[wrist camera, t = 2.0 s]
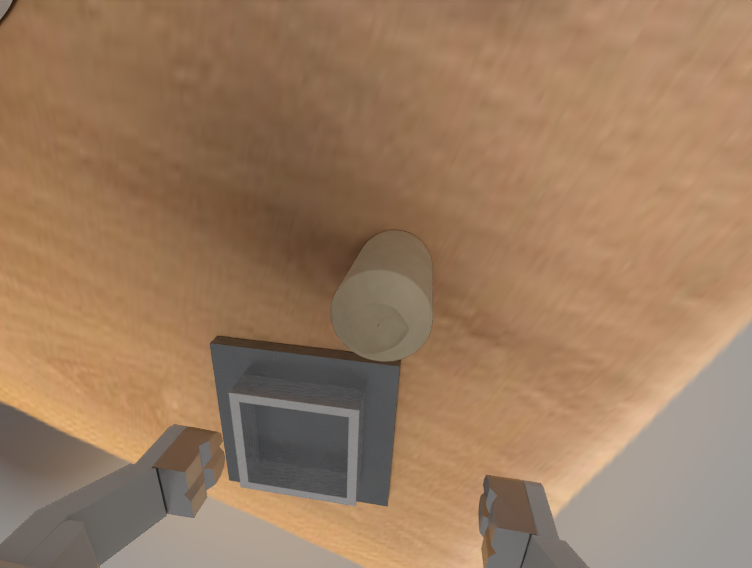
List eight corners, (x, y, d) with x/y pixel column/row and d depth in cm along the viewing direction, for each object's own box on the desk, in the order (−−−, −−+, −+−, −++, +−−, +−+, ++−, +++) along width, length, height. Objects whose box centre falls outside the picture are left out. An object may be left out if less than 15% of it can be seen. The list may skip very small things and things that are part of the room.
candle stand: (235, 470, 39) (216, 502, 35) (217, 336, 33) (192, 360, 29) (388, 495, 37) (384, 532, 34) (400, 358, 31) (396, 386, 27)
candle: (401, 312, 29) (387, 395, 20) (344, 269, 29) (303, 335, 19) (448, 260, 27) (456, 327, 18) (388, 213, 26) (365, 257, 17)
